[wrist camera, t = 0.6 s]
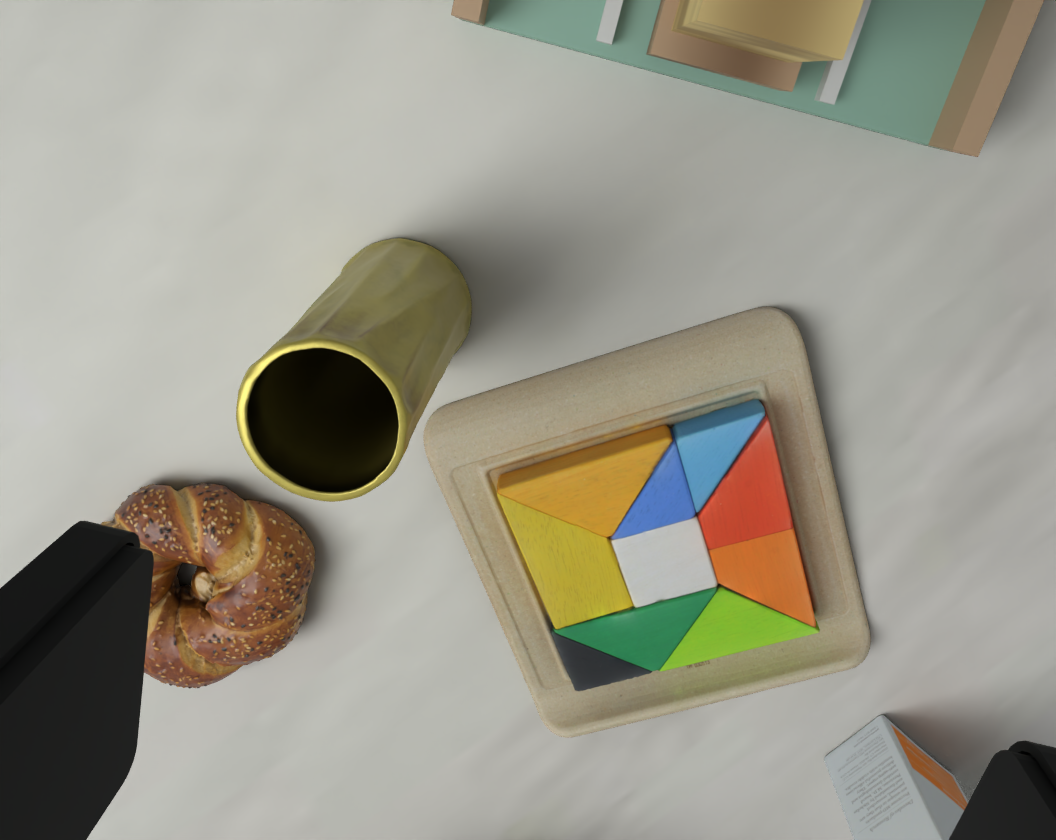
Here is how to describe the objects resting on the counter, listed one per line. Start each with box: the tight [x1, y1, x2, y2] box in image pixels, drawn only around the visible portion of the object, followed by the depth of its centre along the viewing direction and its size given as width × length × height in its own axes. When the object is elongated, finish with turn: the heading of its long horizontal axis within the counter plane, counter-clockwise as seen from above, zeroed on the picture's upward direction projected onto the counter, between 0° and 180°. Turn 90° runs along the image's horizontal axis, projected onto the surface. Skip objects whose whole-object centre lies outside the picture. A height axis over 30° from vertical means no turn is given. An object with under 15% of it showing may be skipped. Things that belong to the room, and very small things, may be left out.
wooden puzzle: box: [424, 307, 871, 738], centre depth 42 cm, size 18×19×4 cm
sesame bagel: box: [101, 483, 315, 688], centre depth 44 cm, size 12×11×4 cm
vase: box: [236, 238, 472, 502], centre depth 33 cm, size 6×6×14 cm
